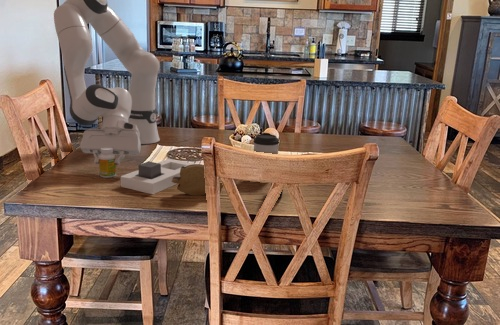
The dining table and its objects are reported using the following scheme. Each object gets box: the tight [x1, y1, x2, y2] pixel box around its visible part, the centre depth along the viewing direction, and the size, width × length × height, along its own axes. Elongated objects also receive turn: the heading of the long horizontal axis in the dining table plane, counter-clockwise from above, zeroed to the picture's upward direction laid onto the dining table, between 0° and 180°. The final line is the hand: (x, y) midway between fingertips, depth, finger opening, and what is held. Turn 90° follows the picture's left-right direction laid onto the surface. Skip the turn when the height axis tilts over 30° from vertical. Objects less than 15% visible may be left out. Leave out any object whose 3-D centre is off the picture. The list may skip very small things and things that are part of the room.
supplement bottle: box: [98, 147, 117, 179], centre depth 162 cm, size 5×5×10 cm
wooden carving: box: [172, 163, 224, 197], centre depth 148 cm, size 16×5×10 cm, turn 98°
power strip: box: [120, 158, 195, 195], centre depth 160 cm, size 13×25×7 cm, turn 151°
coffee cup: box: [253, 132, 280, 155], centre depth 167 cm, size 9×9×15 cm
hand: (106, 163), depth 162 cm, fingers closed on supplement bottle, 5 cm apart
